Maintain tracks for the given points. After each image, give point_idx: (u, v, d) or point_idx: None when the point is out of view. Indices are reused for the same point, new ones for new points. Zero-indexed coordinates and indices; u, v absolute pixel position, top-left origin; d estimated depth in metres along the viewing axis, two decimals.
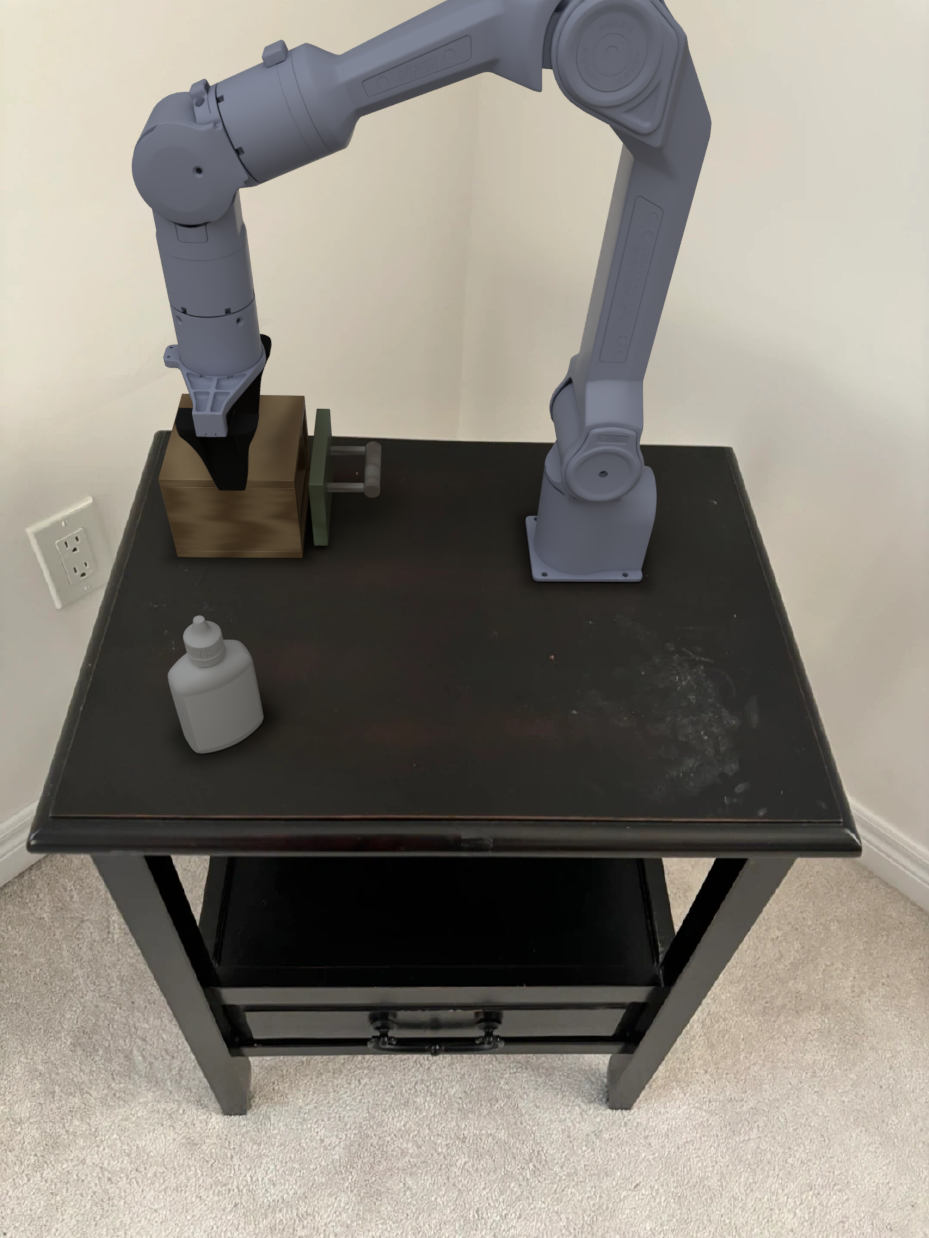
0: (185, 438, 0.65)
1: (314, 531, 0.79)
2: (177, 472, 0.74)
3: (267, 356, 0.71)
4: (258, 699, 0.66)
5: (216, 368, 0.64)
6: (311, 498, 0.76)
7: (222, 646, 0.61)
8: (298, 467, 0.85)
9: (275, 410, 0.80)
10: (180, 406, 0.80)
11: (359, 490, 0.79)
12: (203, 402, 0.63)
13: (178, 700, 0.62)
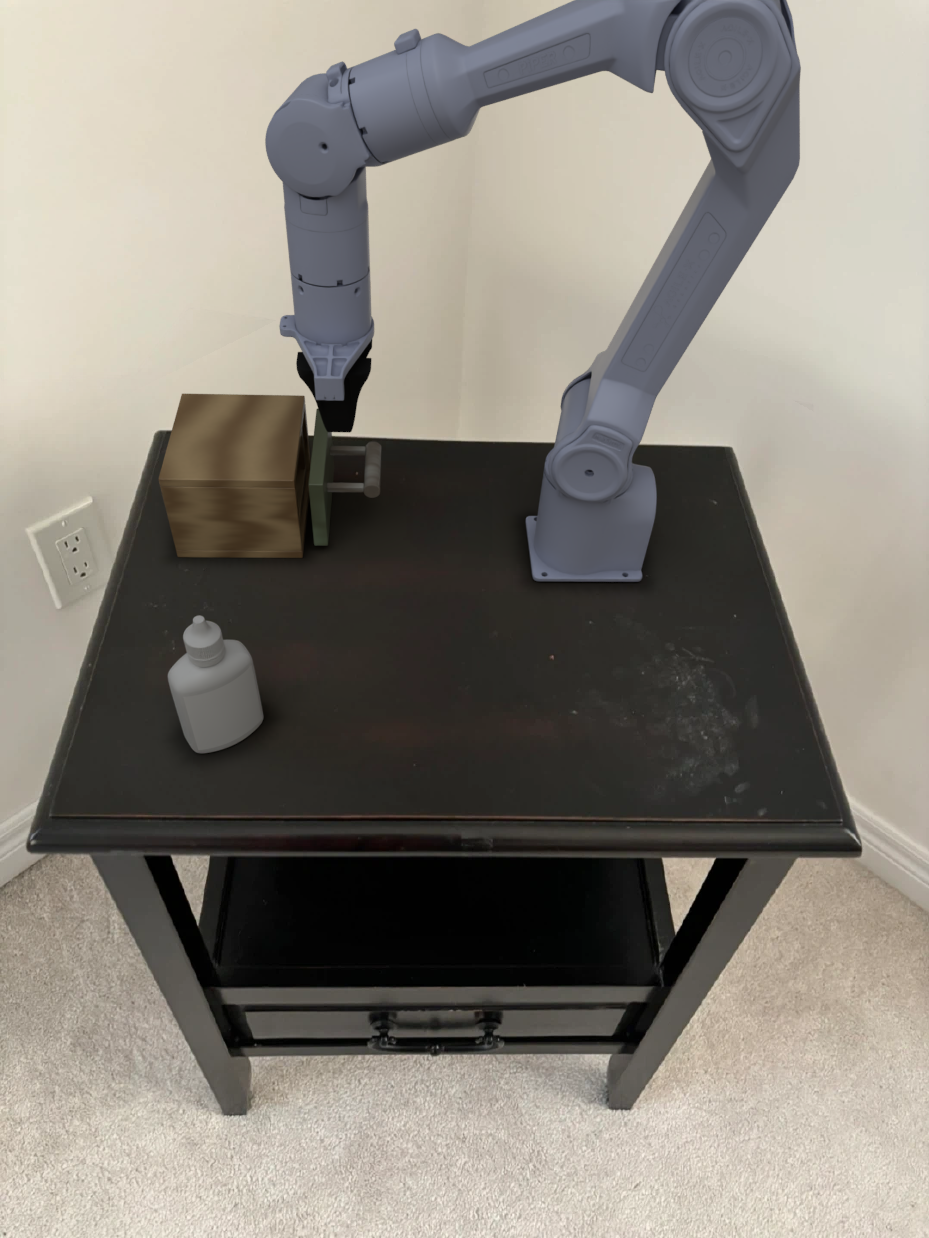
0: (305, 379, 0.70)
1: (314, 531, 0.79)
2: (177, 472, 0.74)
3: (369, 348, 0.73)
4: (258, 699, 0.66)
5: (332, 336, 0.68)
6: (311, 498, 0.76)
7: (222, 646, 0.61)
8: (298, 467, 0.85)
9: (275, 410, 0.80)
10: (180, 406, 0.80)
11: (359, 490, 0.79)
12: (321, 368, 0.67)
13: (178, 700, 0.62)
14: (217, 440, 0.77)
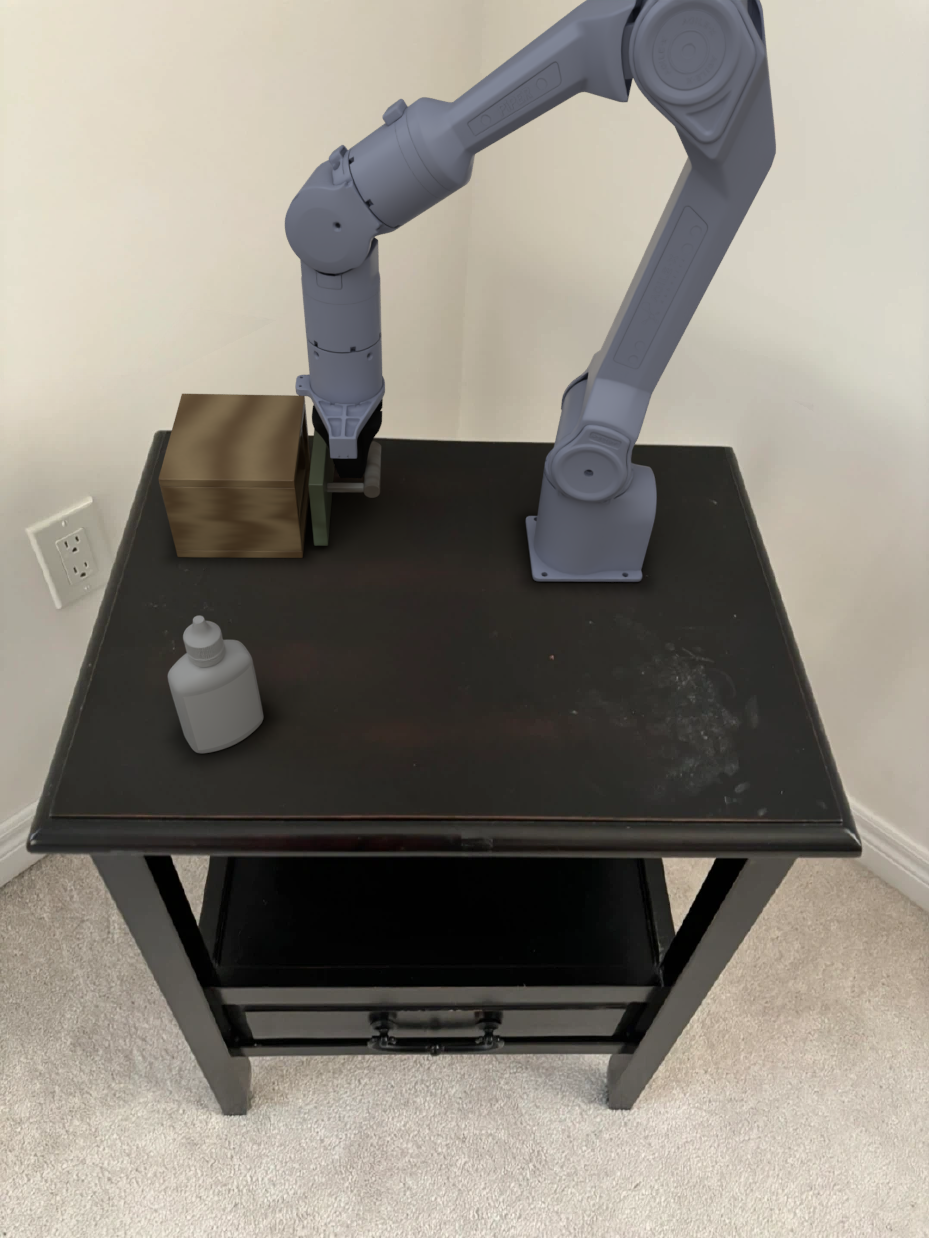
0: (320, 432, 0.75)
1: (314, 531, 0.79)
2: (177, 472, 0.74)
3: (380, 408, 0.76)
4: (258, 699, 0.66)
5: (346, 397, 0.72)
6: (311, 498, 0.76)
7: (222, 646, 0.61)
8: (298, 467, 0.85)
9: (275, 410, 0.80)
10: (180, 406, 0.80)
11: (359, 490, 0.79)
12: (336, 428, 0.71)
13: (178, 700, 0.62)
14: (217, 440, 0.77)
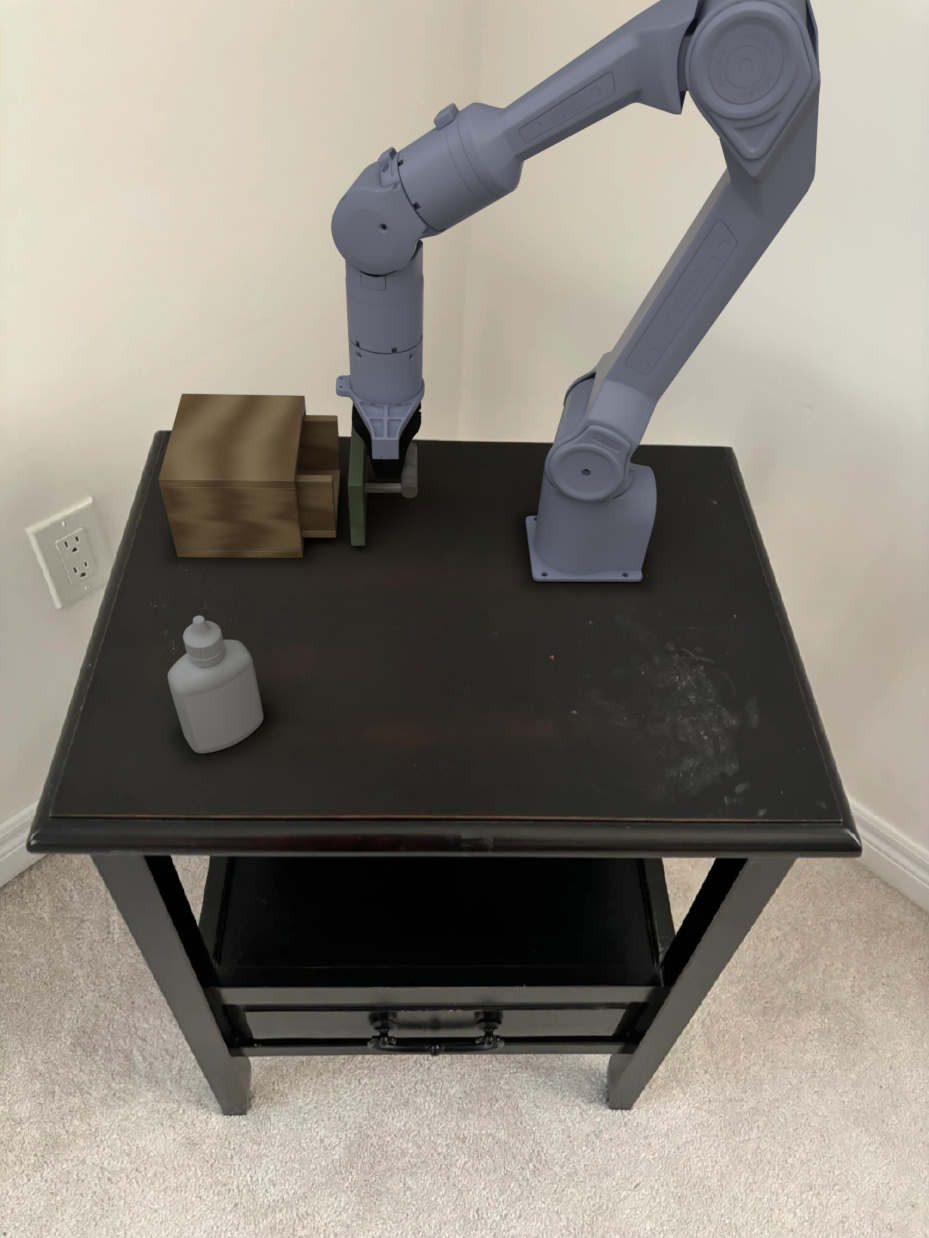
0: (359, 432, 0.75)
1: (352, 531, 0.79)
2: (177, 472, 0.74)
3: (418, 409, 0.76)
4: (258, 699, 0.66)
5: (387, 397, 0.72)
6: (350, 498, 0.76)
7: (222, 646, 0.61)
8: (333, 467, 0.85)
9: (275, 410, 0.80)
10: (180, 406, 0.80)
11: (397, 490, 0.79)
12: (377, 428, 0.71)
13: (178, 700, 0.62)
14: (217, 440, 0.77)
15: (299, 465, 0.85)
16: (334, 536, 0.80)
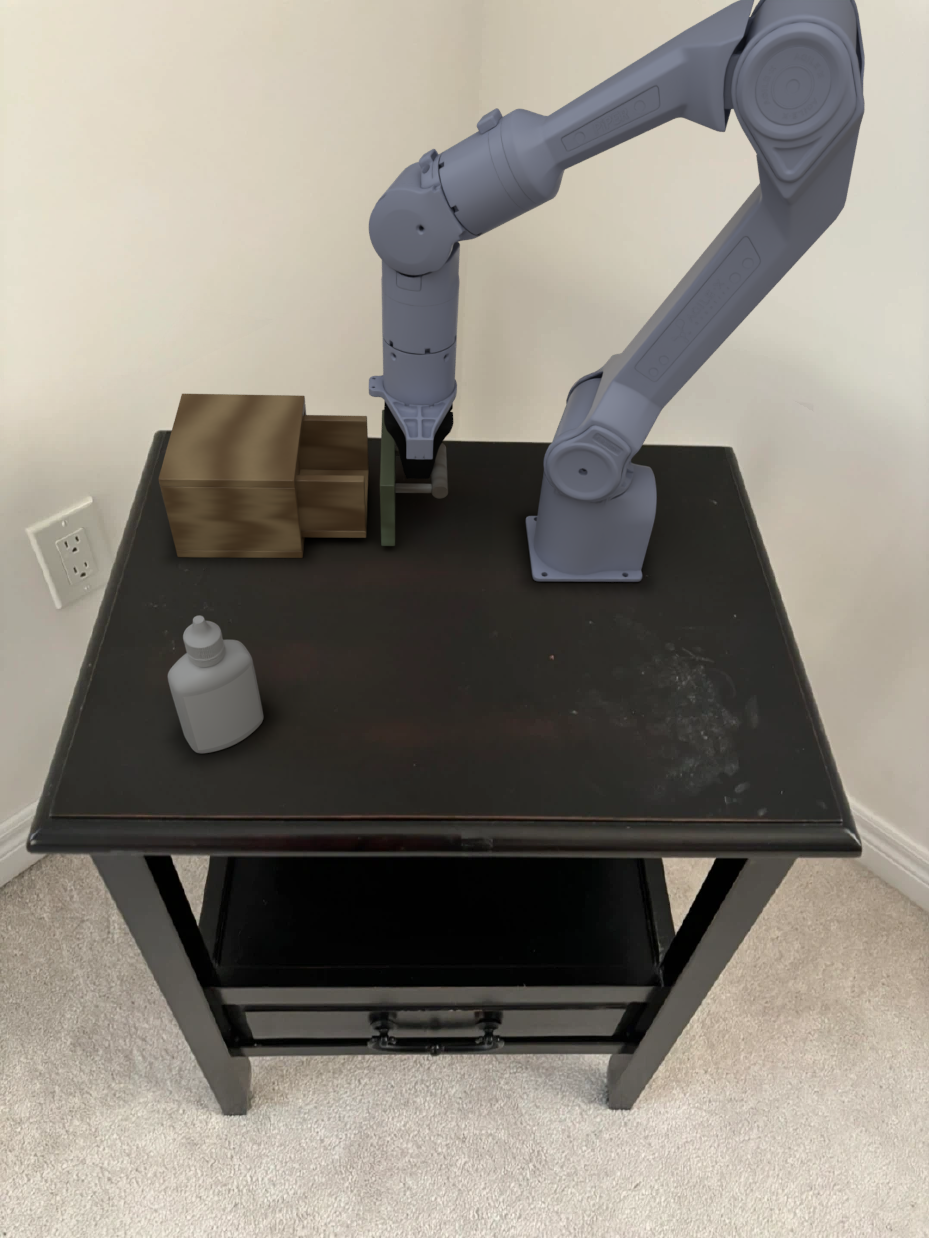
0: (392, 432, 0.75)
1: (382, 532, 0.79)
2: (177, 472, 0.74)
3: (450, 409, 0.77)
4: (258, 699, 0.66)
5: (420, 398, 0.72)
6: (382, 499, 0.76)
7: (222, 646, 0.61)
8: (361, 468, 0.85)
9: (275, 410, 0.80)
10: (180, 406, 0.80)
11: (427, 491, 0.79)
12: (411, 428, 0.71)
13: (178, 700, 0.62)
14: (217, 440, 0.77)
15: (328, 465, 0.85)
16: (364, 536, 0.80)
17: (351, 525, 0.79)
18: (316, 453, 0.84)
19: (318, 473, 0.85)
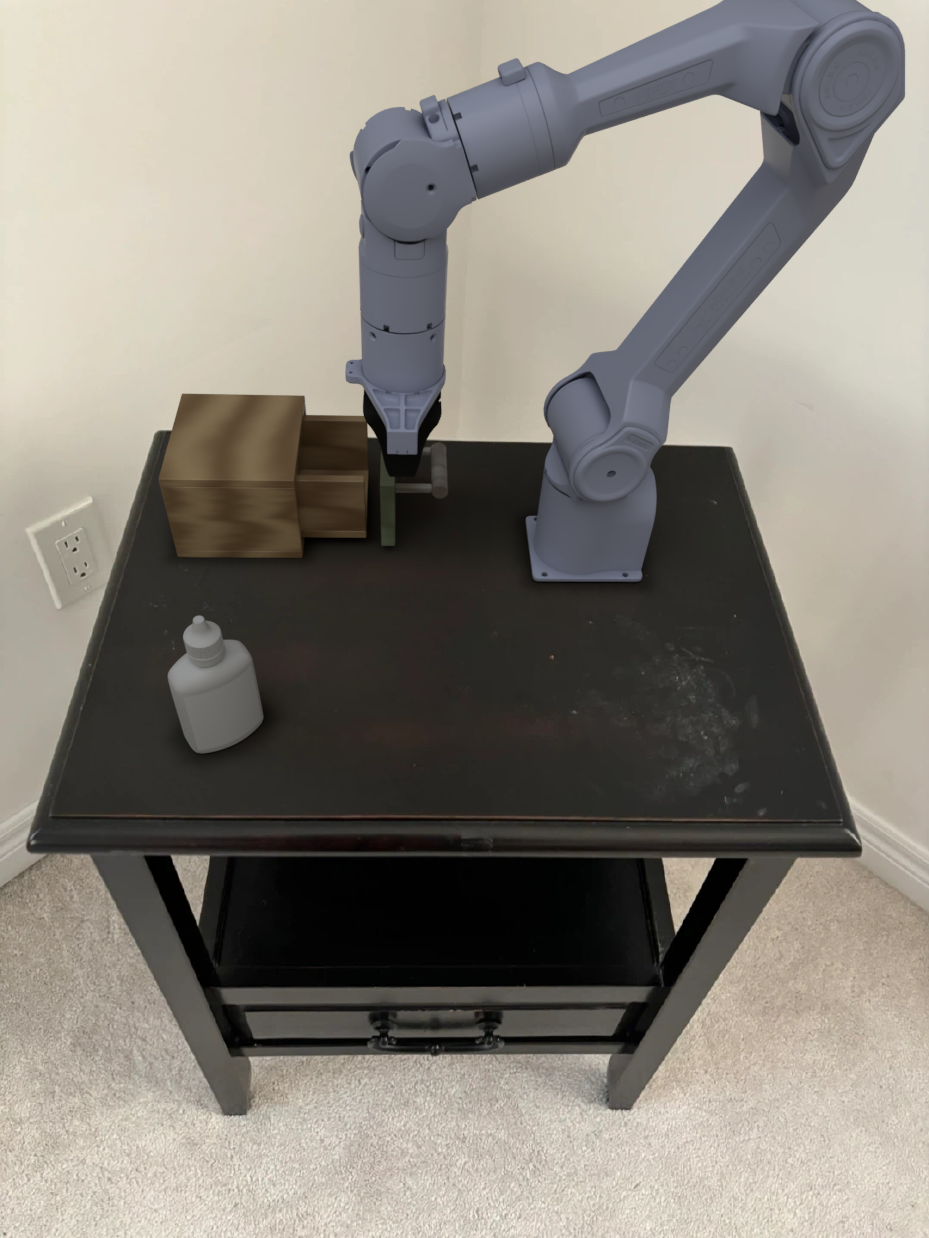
0: (372, 424, 0.66)
1: (382, 532, 0.79)
2: (177, 472, 0.74)
3: (438, 398, 0.68)
4: (258, 699, 0.66)
5: (404, 384, 0.63)
6: (382, 499, 0.76)
7: (222, 646, 0.61)
8: (361, 468, 0.85)
9: (275, 410, 0.80)
10: (180, 406, 0.80)
11: (427, 491, 0.79)
12: (393, 419, 0.62)
13: (178, 700, 0.62)
14: (217, 440, 0.77)
15: (328, 465, 0.85)
16: (364, 536, 0.80)
17: (351, 525, 0.79)
18: (316, 453, 0.84)
19: (318, 473, 0.85)
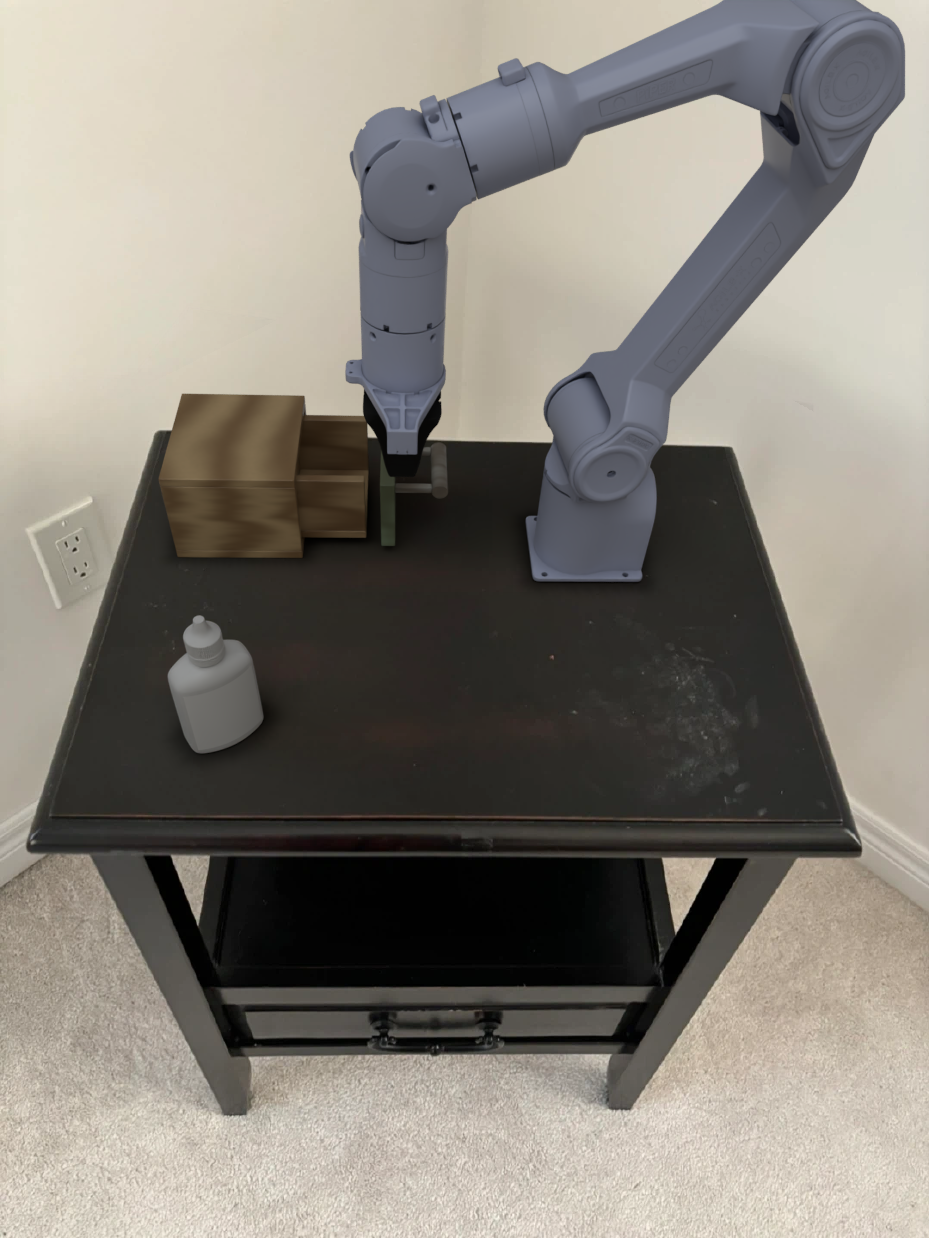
0: (372, 424, 0.66)
1: (382, 532, 0.79)
2: (177, 472, 0.74)
3: (438, 398, 0.68)
4: (258, 699, 0.66)
5: (404, 384, 0.63)
6: (382, 499, 0.76)
7: (222, 646, 0.61)
8: (361, 468, 0.85)
9: (275, 410, 0.80)
10: (180, 406, 0.80)
11: (427, 491, 0.79)
12: (393, 419, 0.62)
13: (178, 700, 0.62)
14: (217, 440, 0.77)
15: (328, 465, 0.85)
16: (364, 536, 0.80)
17: (351, 525, 0.79)
18: (316, 453, 0.84)
19: (318, 473, 0.85)
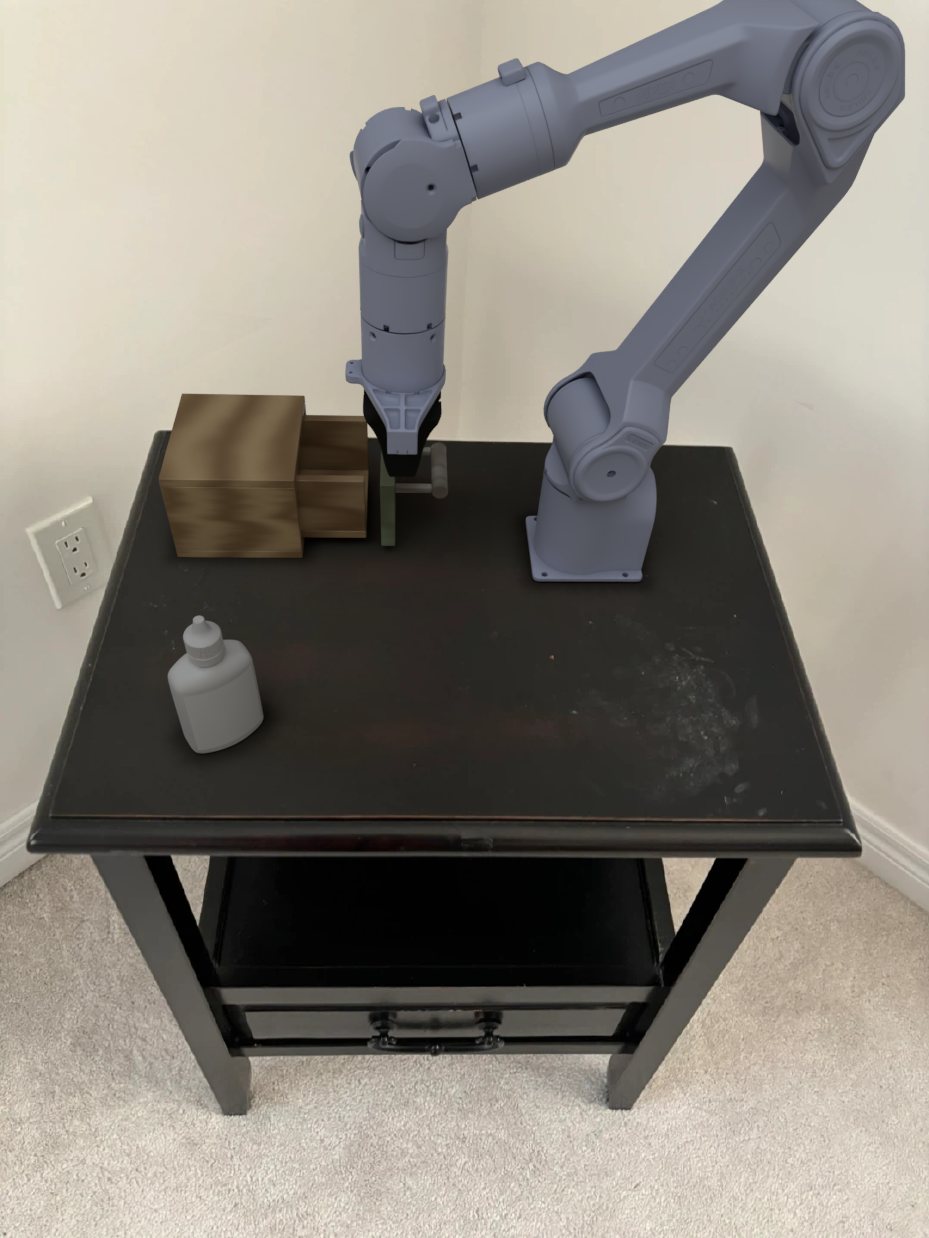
0: (372, 424, 0.66)
1: (382, 532, 0.79)
2: (177, 472, 0.74)
3: (438, 398, 0.68)
4: (258, 699, 0.66)
5: (404, 384, 0.63)
6: (382, 499, 0.76)
7: (222, 646, 0.61)
8: (361, 468, 0.85)
9: (275, 410, 0.80)
10: (180, 406, 0.80)
11: (427, 491, 0.79)
12: (393, 419, 0.62)
13: (178, 700, 0.62)
14: (217, 440, 0.77)
15: (328, 465, 0.85)
16: (364, 536, 0.80)
17: (351, 525, 0.79)
18: (316, 453, 0.84)
19: (318, 473, 0.85)
